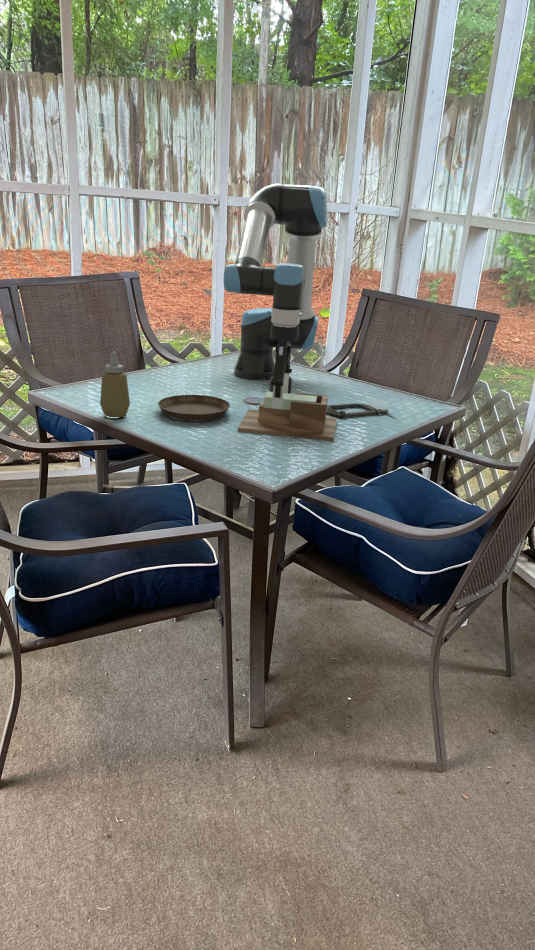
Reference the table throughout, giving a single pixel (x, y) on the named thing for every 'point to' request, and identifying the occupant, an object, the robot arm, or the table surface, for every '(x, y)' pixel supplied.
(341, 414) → the c clamp
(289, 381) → the supplement bottle
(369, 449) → the table surface
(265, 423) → the cradle
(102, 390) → the squeeze bottle
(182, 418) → the plant saucer
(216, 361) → the table surface
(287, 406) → the bar
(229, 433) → the table surface
